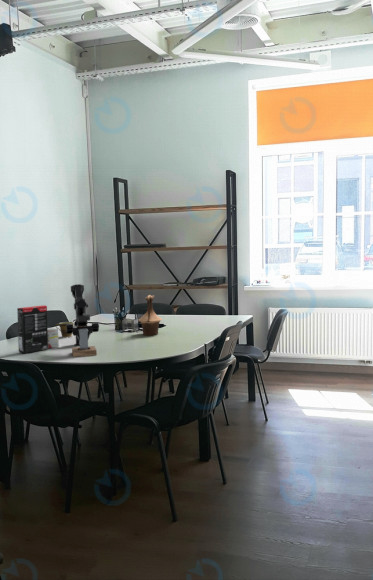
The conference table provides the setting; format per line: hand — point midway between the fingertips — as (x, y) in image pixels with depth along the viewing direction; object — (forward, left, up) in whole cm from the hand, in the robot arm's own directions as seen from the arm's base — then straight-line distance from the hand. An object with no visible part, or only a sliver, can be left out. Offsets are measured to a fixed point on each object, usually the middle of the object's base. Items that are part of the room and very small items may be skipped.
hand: (83, 339), depth 287 cm
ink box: (-23, -29, -9) cm, 38 cm away
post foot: (-1, -1, -8) cm, 8 cm away
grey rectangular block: (-1, -1, -7) cm, 7 cm away
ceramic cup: (-61, -34, -9) cm, 70 cm away
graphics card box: (-10, -35, -9) cm, 37 cm away
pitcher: (-68, +26, -9) cm, 74 cm away
